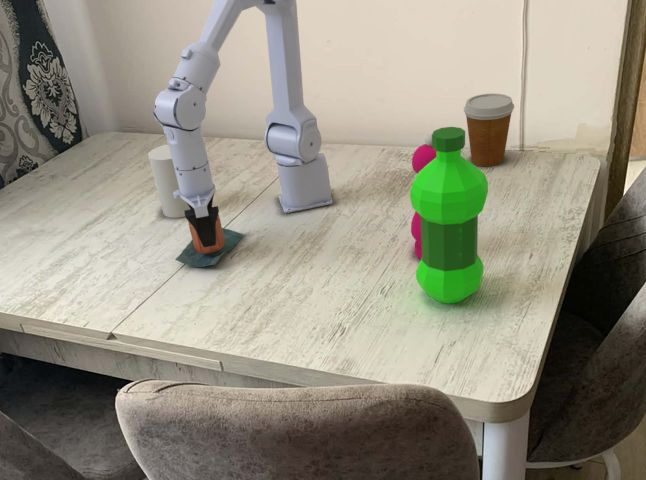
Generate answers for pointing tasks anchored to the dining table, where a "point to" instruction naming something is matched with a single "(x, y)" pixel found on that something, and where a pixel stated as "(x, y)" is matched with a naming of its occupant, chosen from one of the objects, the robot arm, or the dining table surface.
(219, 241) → the faceted terracotta tumbler
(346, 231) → the dining table surface
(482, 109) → the disposable coffee cup
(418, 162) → the pepper mill
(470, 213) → the plastic bottle
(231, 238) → the terrain model
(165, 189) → the white cylinder
